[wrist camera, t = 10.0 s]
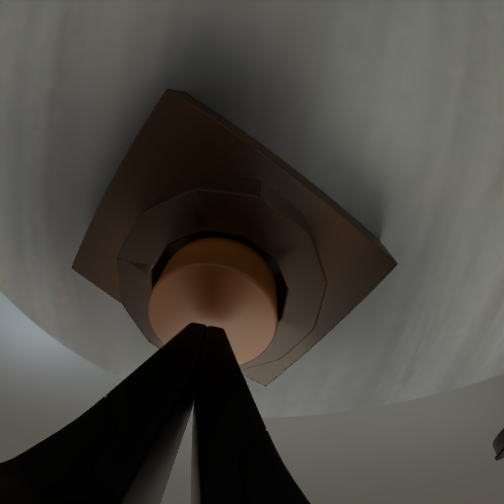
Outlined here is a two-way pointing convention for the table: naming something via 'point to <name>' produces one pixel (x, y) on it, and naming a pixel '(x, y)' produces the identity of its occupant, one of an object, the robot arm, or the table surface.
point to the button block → (228, 226)
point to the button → (217, 295)
